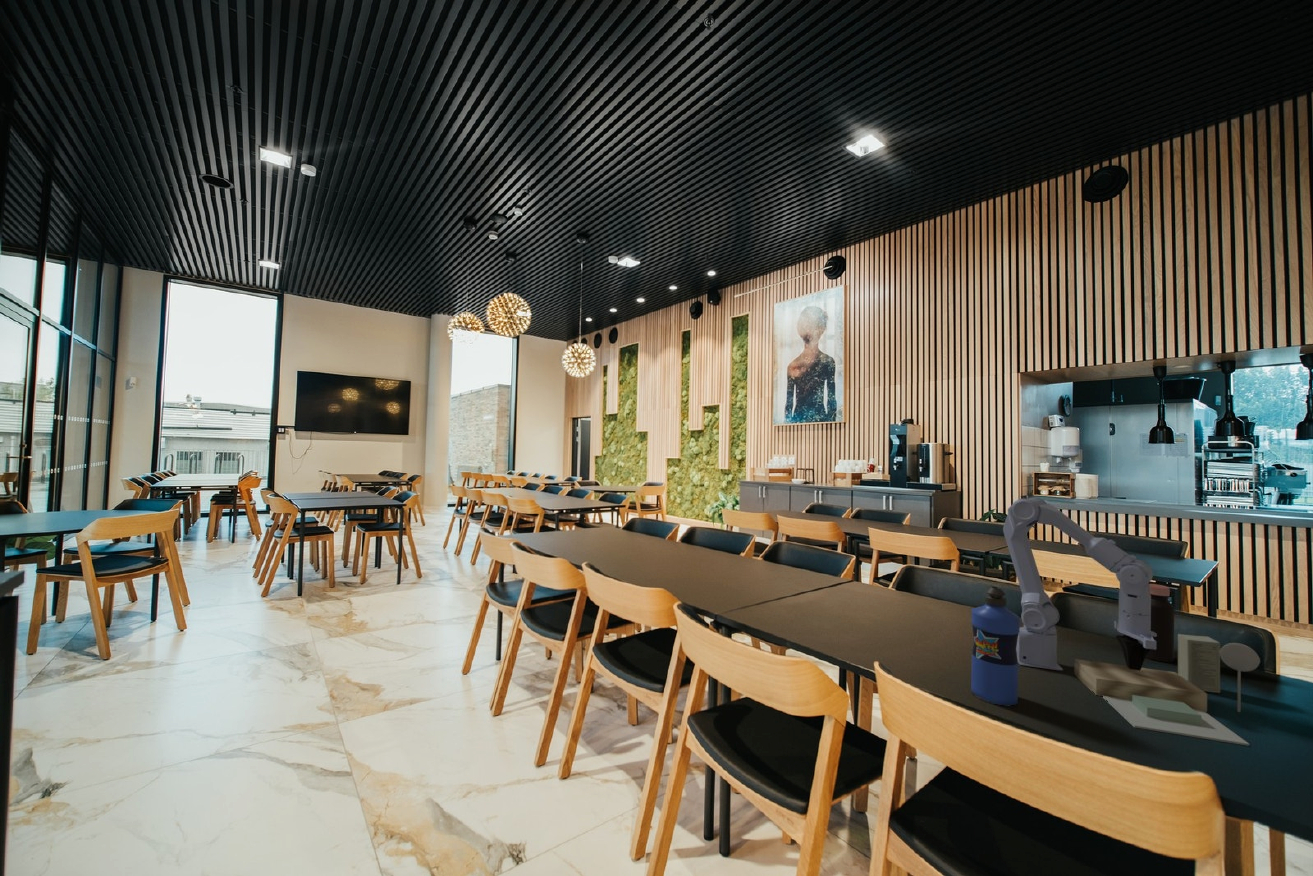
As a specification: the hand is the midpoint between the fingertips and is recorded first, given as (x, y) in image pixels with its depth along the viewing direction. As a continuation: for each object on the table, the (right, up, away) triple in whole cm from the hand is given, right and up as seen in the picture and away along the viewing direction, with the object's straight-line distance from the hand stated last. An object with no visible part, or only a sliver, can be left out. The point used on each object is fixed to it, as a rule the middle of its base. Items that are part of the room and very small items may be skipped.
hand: (1133, 668), depth 125 cm
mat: (-5, -5, -14) cm, 15 cm away
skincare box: (+18, -6, +2) cm, 19 cm away
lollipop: (+15, -6, -10) cm, 18 cm away
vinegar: (+25, -6, +21) cm, 33 cm away
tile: (-4, -2, -12) cm, 13 cm away
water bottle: (-37, -4, -5) cm, 37 cm away
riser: (0, -5, -1) cm, 5 cm away
